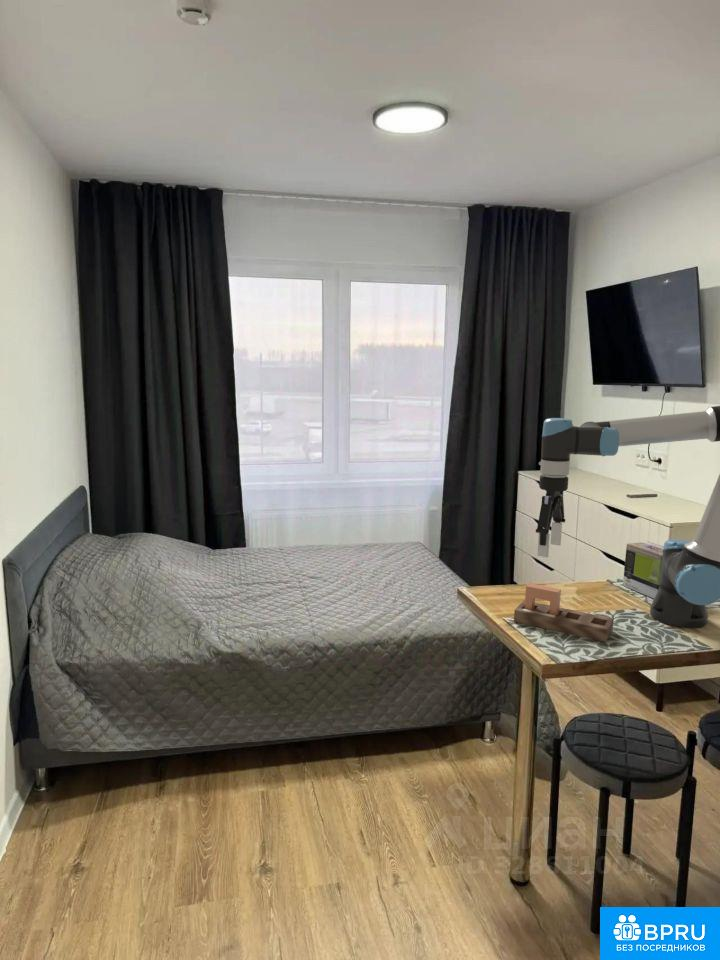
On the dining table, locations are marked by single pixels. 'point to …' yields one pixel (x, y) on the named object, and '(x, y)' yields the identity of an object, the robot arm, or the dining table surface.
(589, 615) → the brown compartment rack
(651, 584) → the grey electronic device
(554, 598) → the pink u-shaped block
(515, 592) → the dining table surface
